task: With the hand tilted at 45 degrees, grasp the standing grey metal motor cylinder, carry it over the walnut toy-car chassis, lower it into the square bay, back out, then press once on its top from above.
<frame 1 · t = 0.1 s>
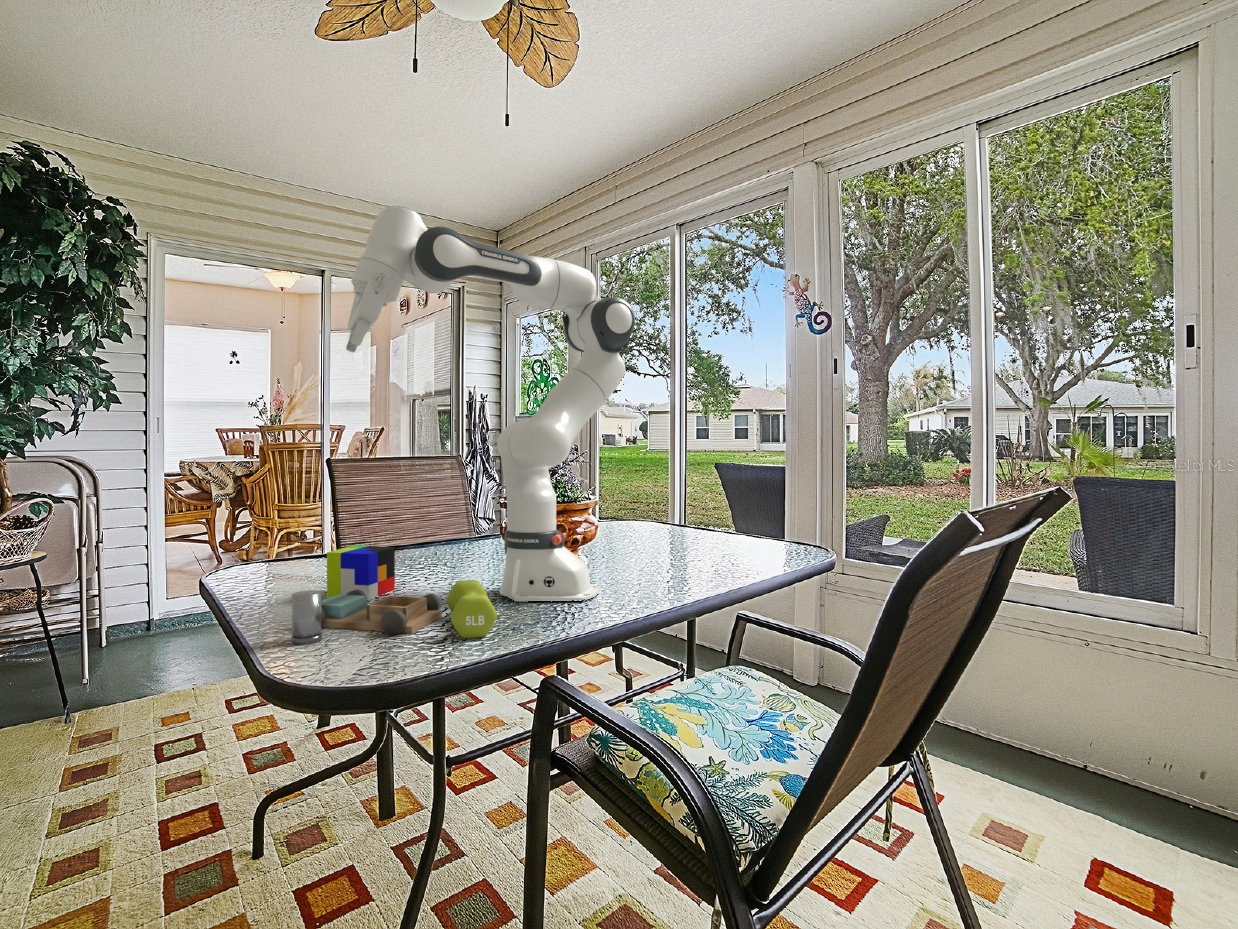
hand: (352, 347, 121), 52 cm above the table, tool tilted 20°, fingers open, 8 cm apart
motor: (306, 640, 104), on the table
puzzle toy: (361, 595, 137), on the table
chassis: (373, 621, 116), on the table
dumbbell: (470, 628, 113), on the table
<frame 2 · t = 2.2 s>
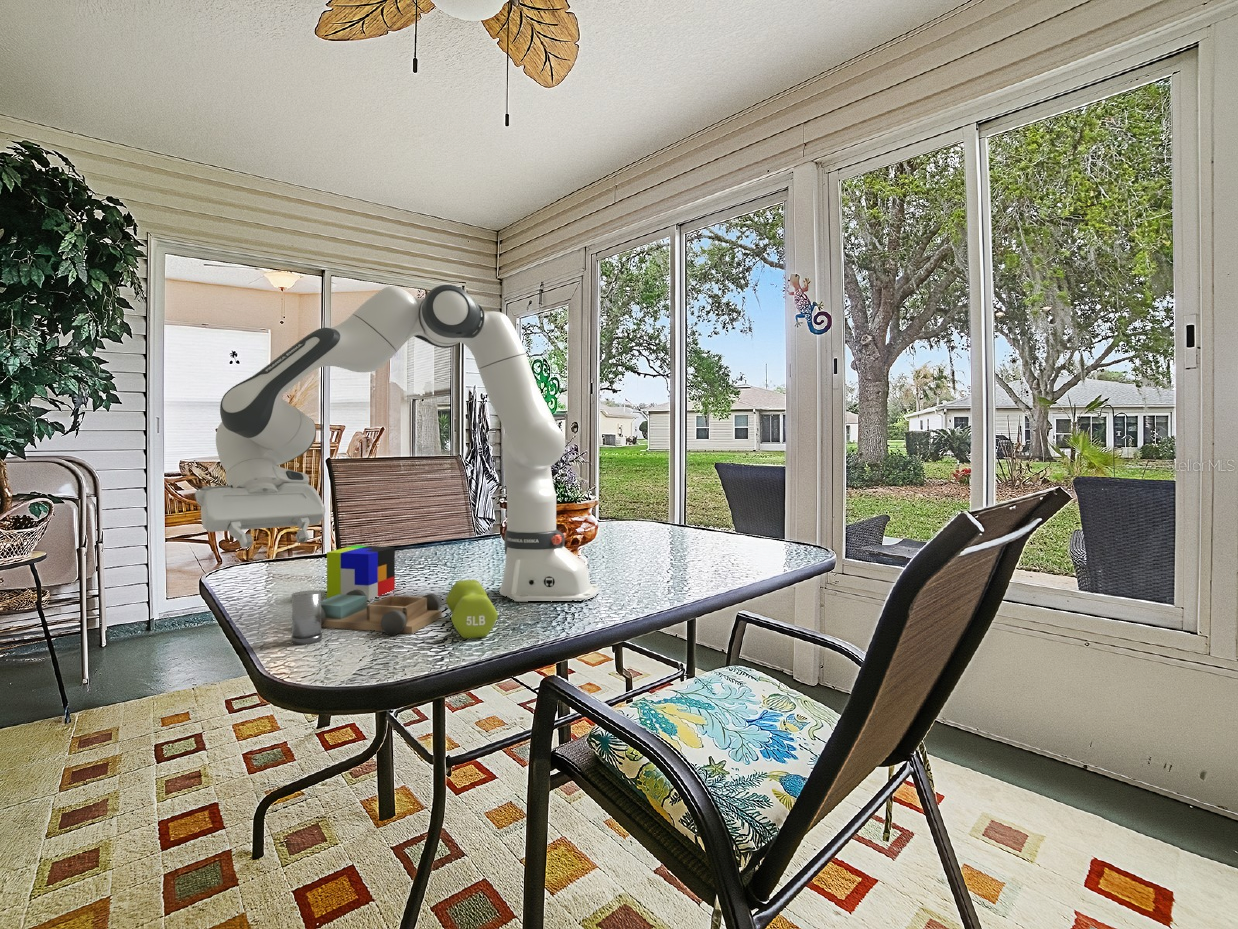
hand: (276, 542, 112), 15 cm above the table, tool tilted 45°, fingers open, 8 cm apart
nothing on the table moved.
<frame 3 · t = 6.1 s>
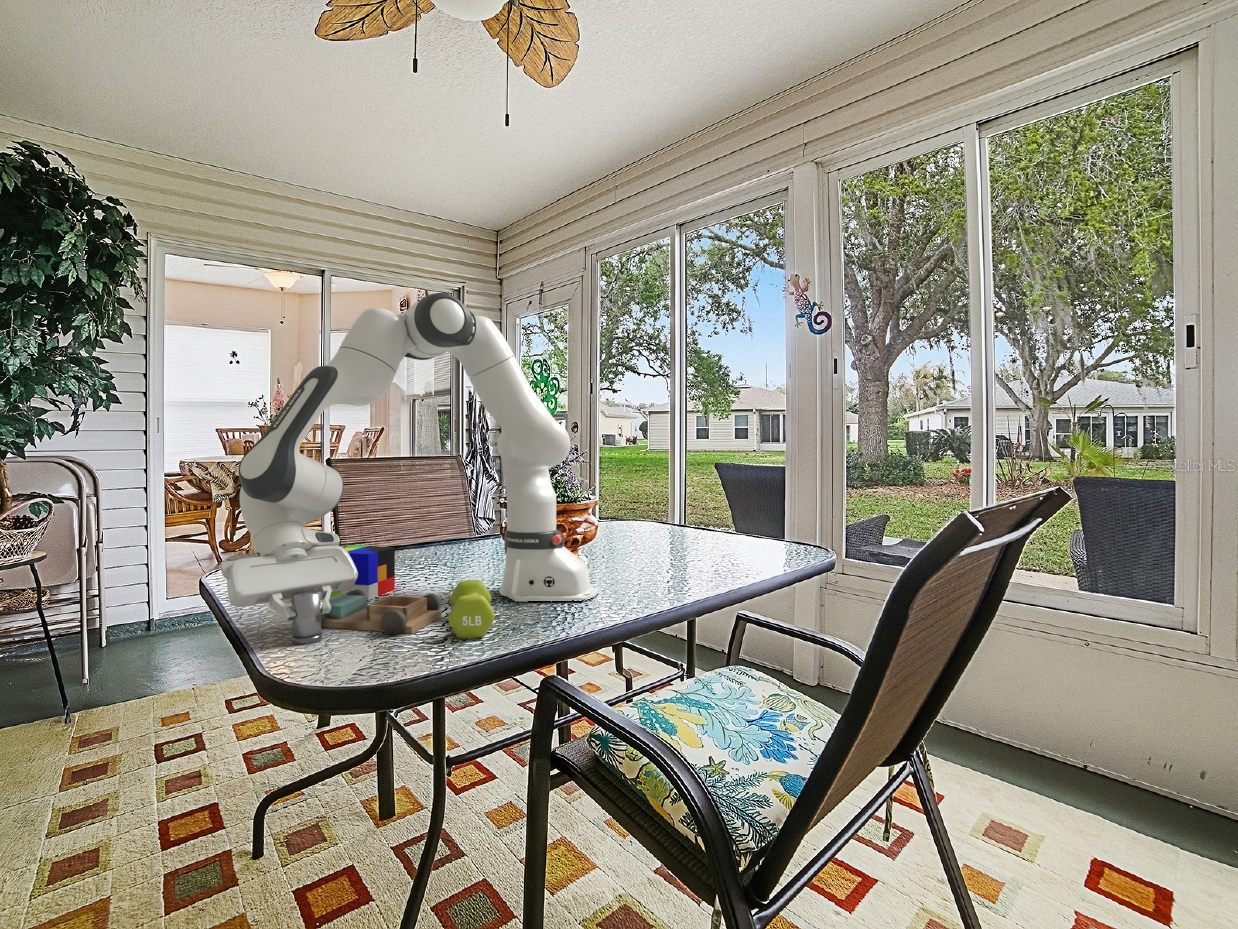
hand: (308, 615, 103), 4 cm above the table, tool tilted 45°, fingers closed on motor, 4 cm apart
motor: (306, 640, 104), on the table, touching gripper
everything else where it was.
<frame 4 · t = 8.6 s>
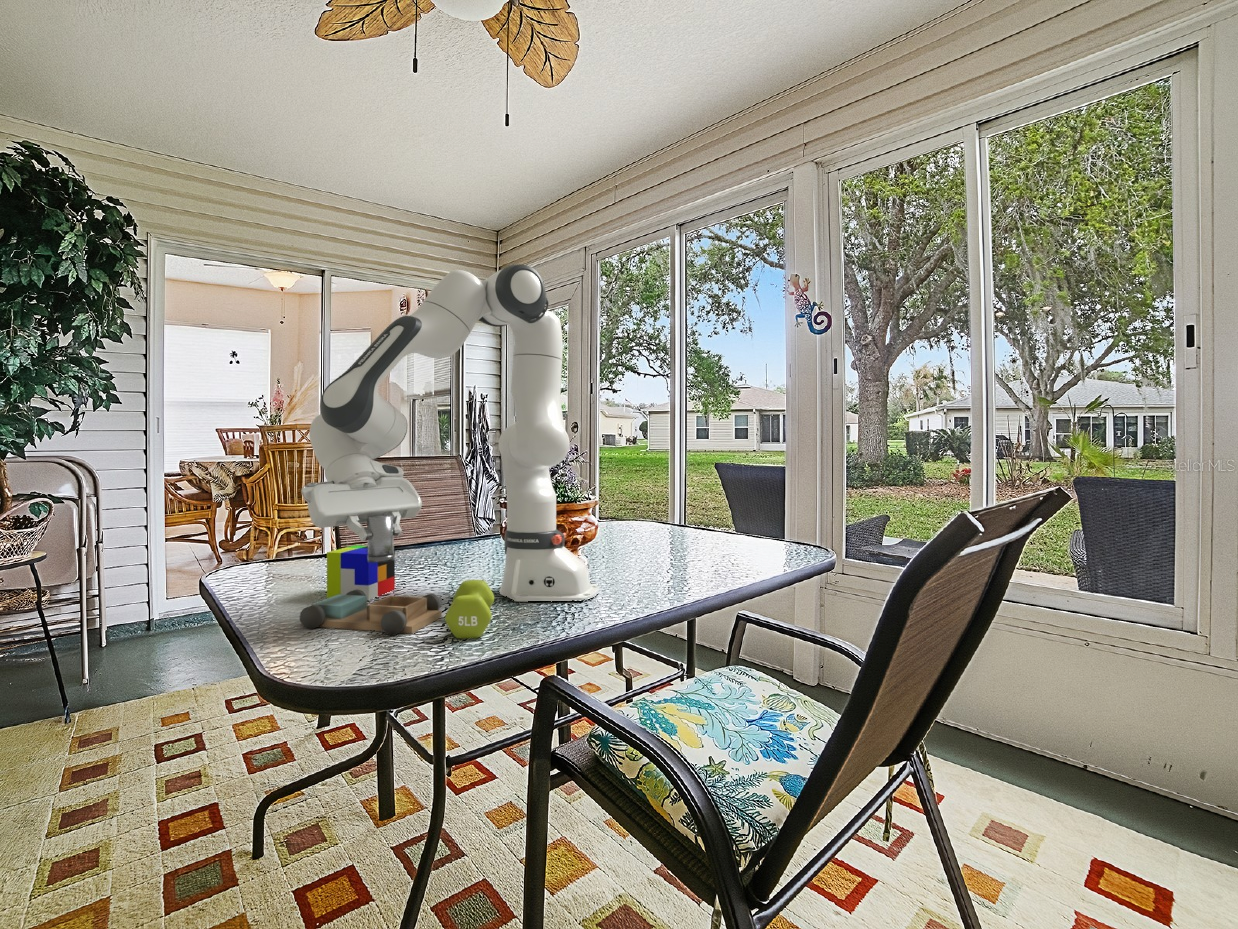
hand: (382, 536, 112), 16 cm above the table, tool tilted 45°, fingers closed on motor, 4 cm apart
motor: (381, 560, 112), point 12 cm above the table, touching gripper
everything else where it was.
when the fingers open (8 cm above the table, at t = 11.2 s): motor drops 2 cm, resting on chassis.
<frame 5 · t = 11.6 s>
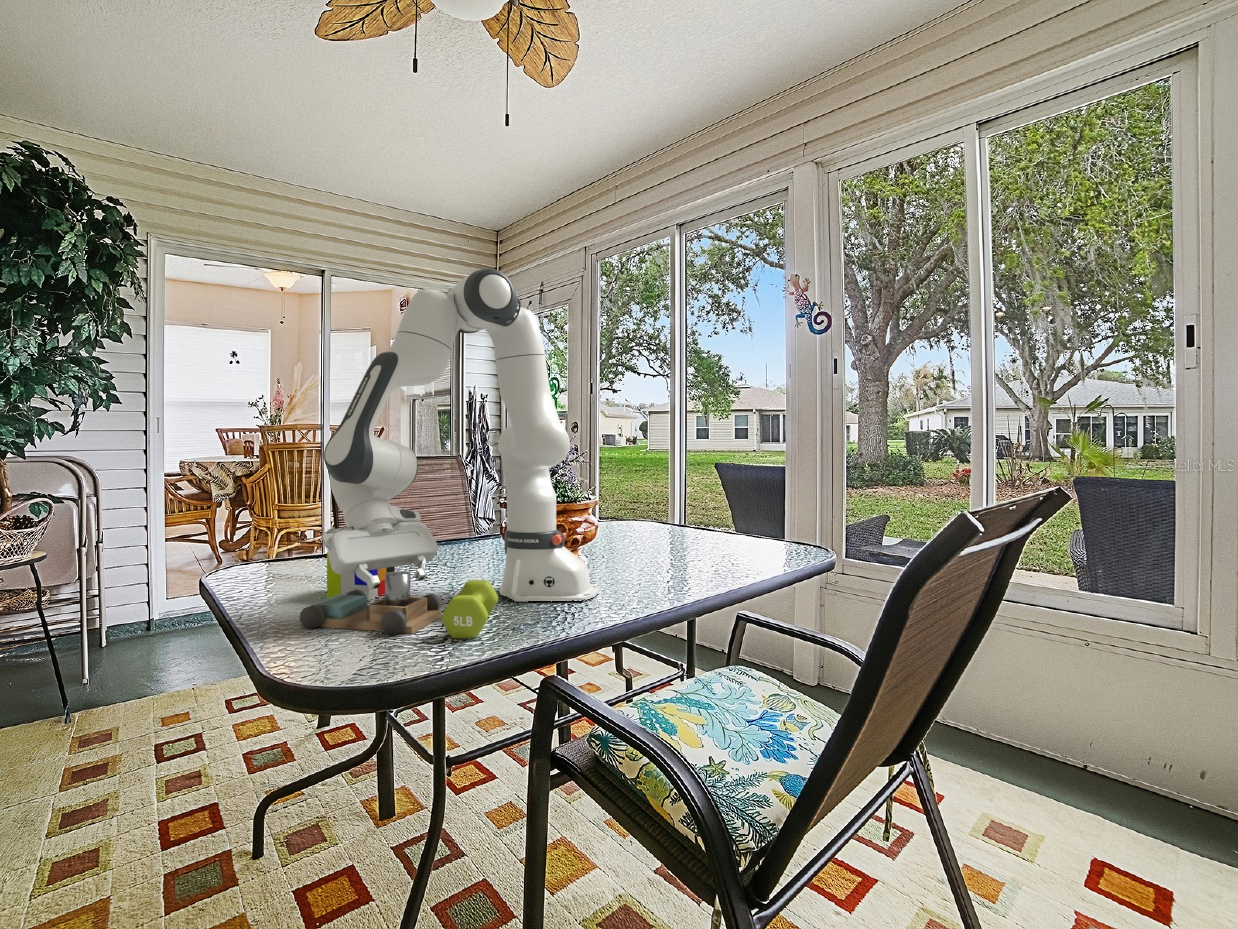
hand: (399, 582, 114), 8 cm above the table, tool tilted 45°, fingers open, 8 cm apart
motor: (397, 616, 115), point 1 cm above the table, touching chassis
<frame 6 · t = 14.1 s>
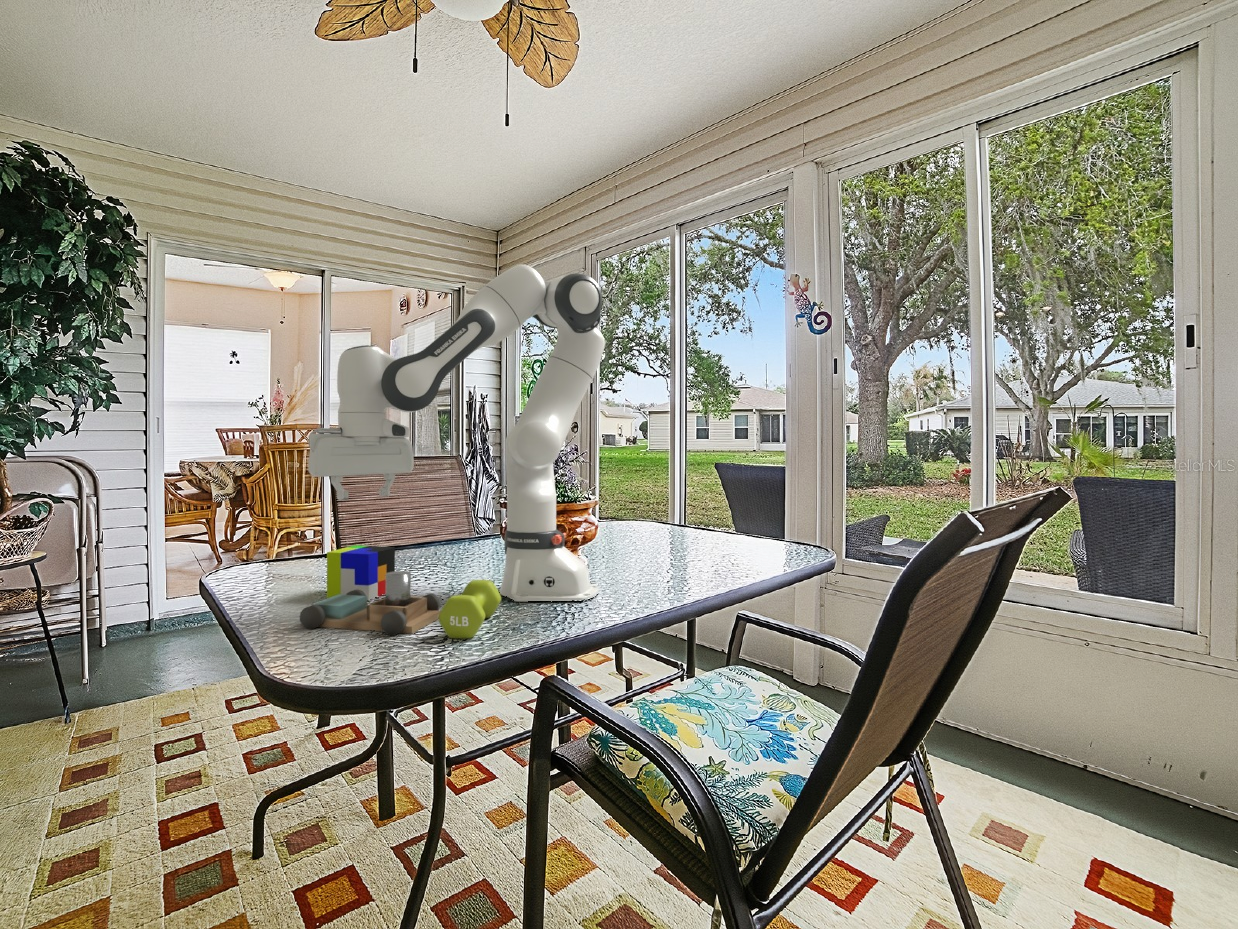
hand: (364, 498, 123), 22 cm above the table, tool pointing down, fingers open, 7 cm apart
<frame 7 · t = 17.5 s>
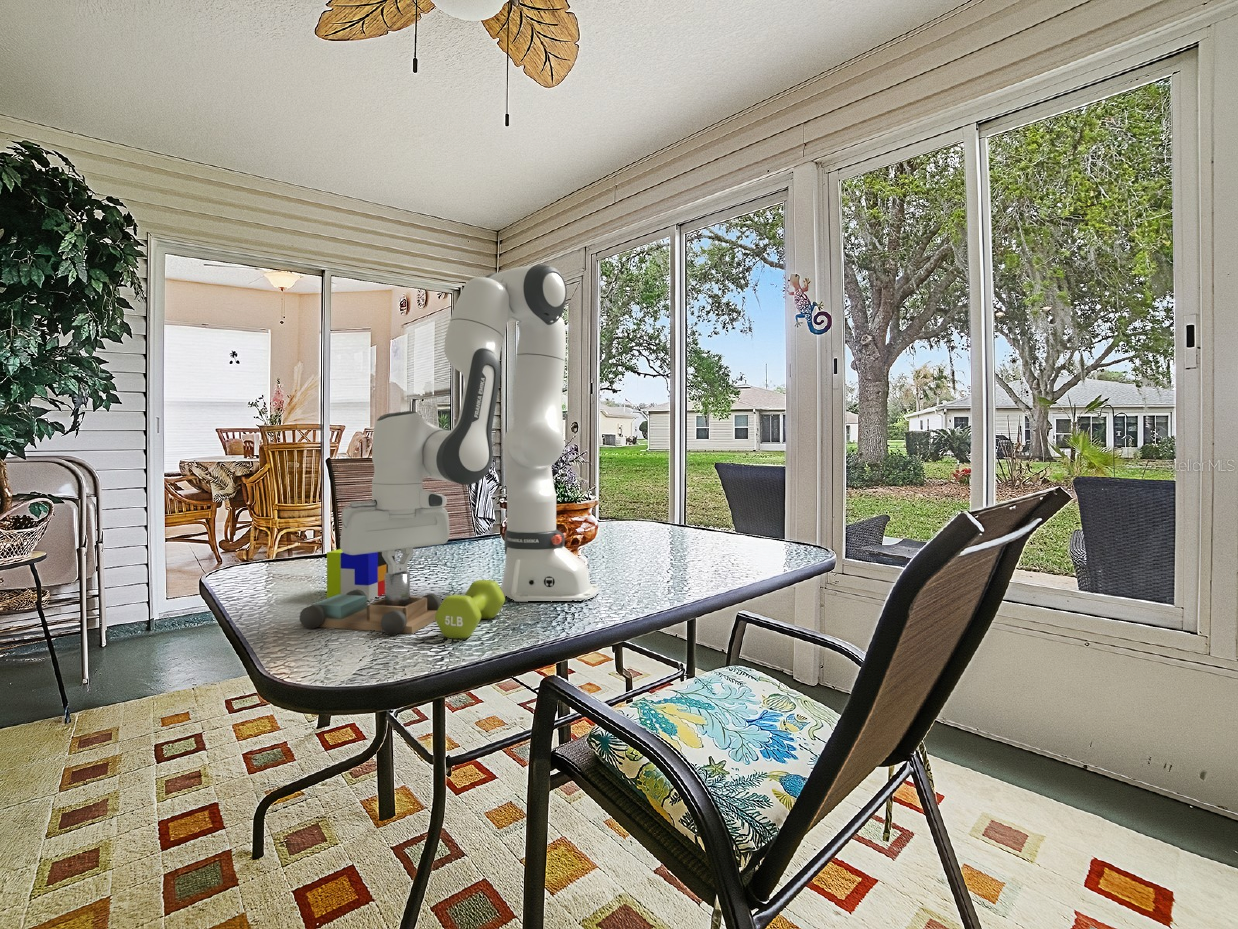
hand: (397, 573, 115), 9 cm above the table, tool pointing down, fingers closed, pressing on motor
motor: (397, 616, 115), point 1 cm above the table, touching chassis, gripper
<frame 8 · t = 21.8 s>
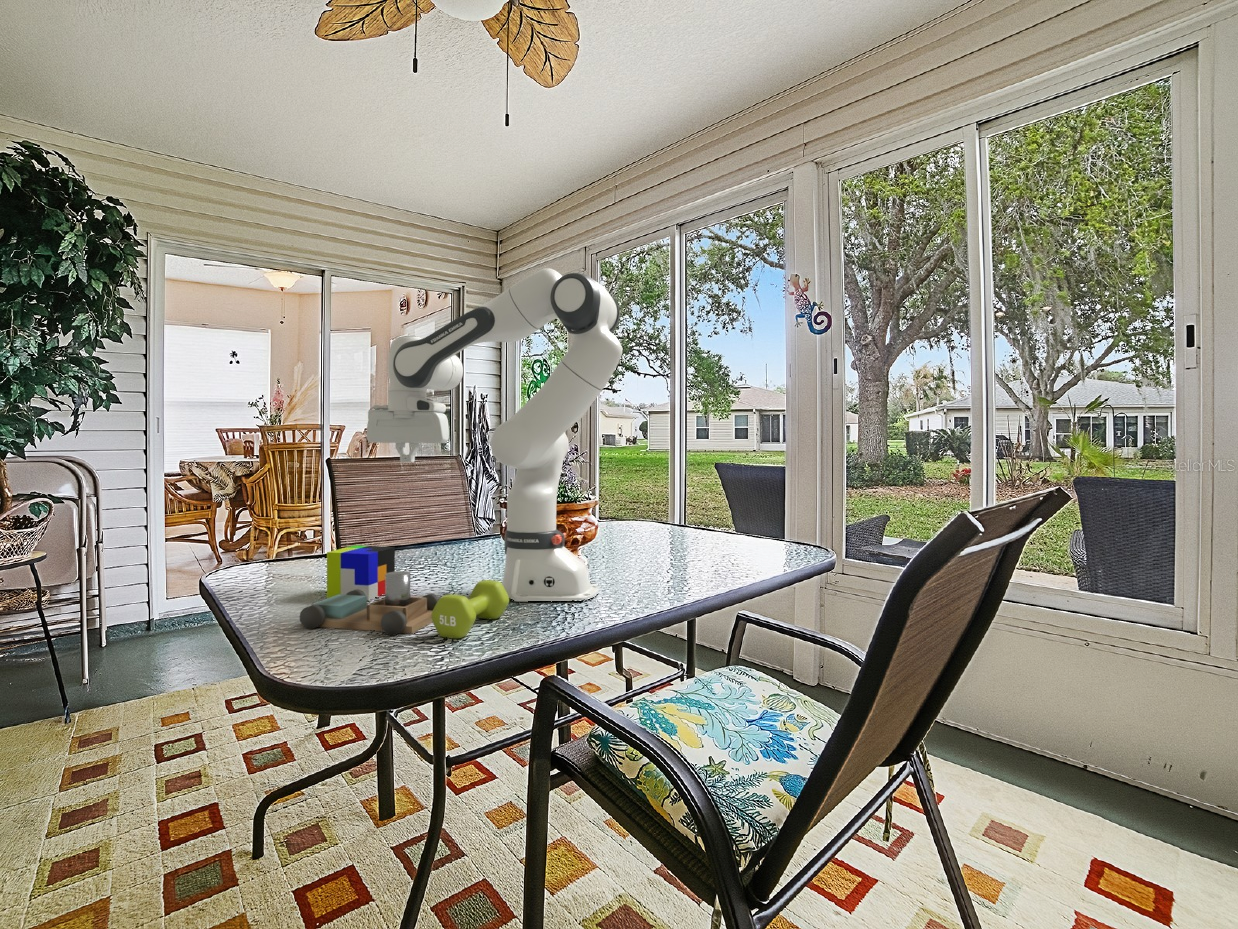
hand: (407, 462, 150), 29 cm above the table, tool pointing down, fingers closed
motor: (397, 616, 115), point 1 cm above the table, touching chassis
at the end: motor 0.0 cm from the target spot on the chassis, point 1.2 cm above the chassis's base; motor tilted 0°; the gripper is holding nothing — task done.
